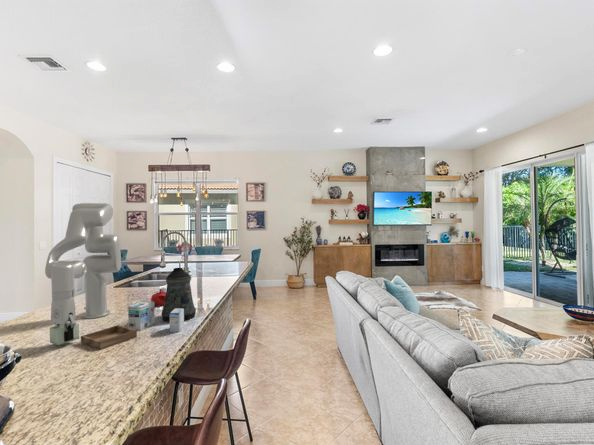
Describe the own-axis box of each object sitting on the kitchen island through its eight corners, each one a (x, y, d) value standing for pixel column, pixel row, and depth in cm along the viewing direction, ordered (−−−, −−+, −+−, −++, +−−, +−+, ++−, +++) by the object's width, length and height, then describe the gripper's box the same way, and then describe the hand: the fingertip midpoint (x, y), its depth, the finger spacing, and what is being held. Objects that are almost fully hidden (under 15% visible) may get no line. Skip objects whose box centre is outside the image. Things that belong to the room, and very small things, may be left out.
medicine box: (174, 326, 157) (174, 308, 156) (184, 326, 157) (184, 308, 157) (169, 332, 149) (169, 313, 149) (179, 332, 149) (179, 312, 149)
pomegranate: (147, 306, 193) (146, 290, 192) (159, 302, 202) (159, 286, 202) (160, 307, 189) (160, 291, 189) (173, 303, 199) (172, 287, 198)
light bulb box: (140, 330, 151) (140, 307, 151) (127, 329, 153) (127, 306, 153) (155, 323, 162) (155, 301, 162) (143, 322, 163) (142, 300, 163)
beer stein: (177, 324, 160) (176, 272, 159) (150, 318, 169) (149, 269, 169) (202, 315, 174) (202, 267, 174) (176, 310, 183) (176, 265, 183)
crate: (80, 343, 136) (80, 336, 136) (117, 331, 150) (117, 325, 150) (100, 349, 130) (100, 342, 129) (136, 337, 143) (136, 330, 143)
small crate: (50, 342, 133) (49, 327, 133) (71, 335, 140) (71, 321, 140) (57, 345, 130) (56, 330, 130) (79, 338, 137) (78, 324, 137)
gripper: (42, 294, 135) (43, 337, 136) (64, 299, 127) (65, 346, 128) (62, 290, 142) (63, 332, 143) (85, 295, 133) (86, 339, 134)
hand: (64, 338), depth 135 cm, fingers closed on small crate, 5 cm apart
